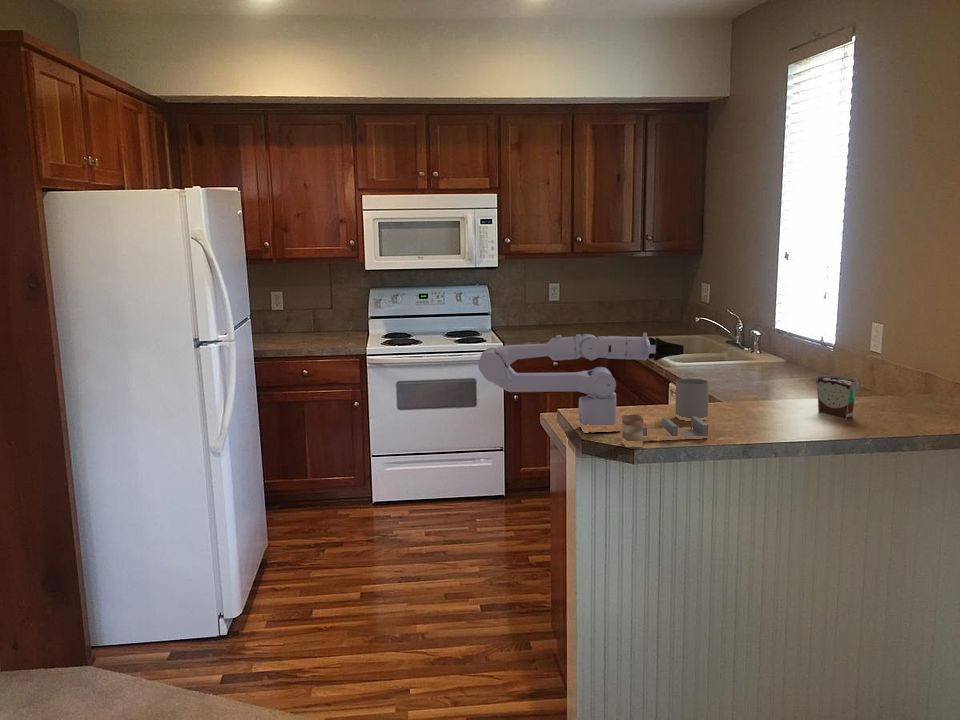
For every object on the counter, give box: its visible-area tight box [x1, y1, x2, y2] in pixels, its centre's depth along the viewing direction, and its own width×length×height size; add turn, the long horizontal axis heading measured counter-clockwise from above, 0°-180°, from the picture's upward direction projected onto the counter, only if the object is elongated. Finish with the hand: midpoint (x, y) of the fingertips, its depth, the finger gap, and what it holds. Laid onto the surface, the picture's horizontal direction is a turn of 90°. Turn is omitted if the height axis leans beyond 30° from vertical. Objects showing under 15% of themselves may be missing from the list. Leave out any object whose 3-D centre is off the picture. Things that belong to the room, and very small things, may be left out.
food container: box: [814, 374, 860, 421], centre depth 205 cm, size 12×6×10 cm, turn 22°
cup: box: [675, 378, 710, 418], centre depth 208 cm, size 8×8×10 cm
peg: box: [621, 413, 644, 441], centre depth 183 cm, size 4×4×7 cm
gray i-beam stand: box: [643, 416, 709, 437], centre depth 191 cm, size 16×9×4 cm, turn 93°
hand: (680, 349), depth 195 cm, fingers open, 7 cm apart
